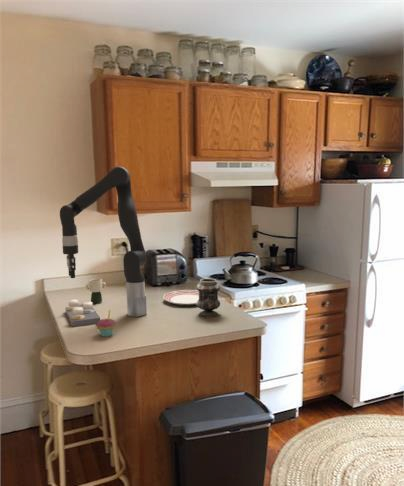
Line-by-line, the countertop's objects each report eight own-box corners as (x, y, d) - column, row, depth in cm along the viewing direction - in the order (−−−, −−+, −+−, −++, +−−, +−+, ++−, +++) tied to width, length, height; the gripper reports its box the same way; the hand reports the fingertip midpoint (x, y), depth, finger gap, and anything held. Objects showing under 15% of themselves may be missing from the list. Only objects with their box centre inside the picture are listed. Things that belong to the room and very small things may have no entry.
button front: (84, 314, 203) (83, 309, 202) (73, 315, 201) (73, 310, 200) (82, 311, 207) (82, 306, 207) (72, 312, 205) (71, 307, 205)
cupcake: (117, 331, 192) (116, 305, 190) (114, 337, 183) (113, 311, 182) (98, 331, 191) (97, 305, 190) (94, 338, 183) (93, 311, 181)
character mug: (105, 299, 246) (104, 277, 244) (107, 302, 239) (106, 280, 237) (86, 301, 242) (85, 279, 240) (87, 305, 235) (86, 282, 233)
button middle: (93, 308, 212) (93, 303, 212) (83, 309, 210) (83, 304, 210) (91, 306, 217) (91, 301, 216) (82, 307, 215) (81, 302, 214)
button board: (100, 322, 204) (100, 317, 203) (72, 326, 198) (72, 320, 198) (90, 309, 227) (90, 303, 227) (65, 312, 222) (65, 307, 222)
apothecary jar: (222, 311, 219) (222, 277, 217) (217, 318, 208) (216, 283, 206) (200, 310, 223) (199, 276, 220) (193, 317, 211) (193, 281, 209)
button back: (78, 305, 217) (78, 301, 217) (69, 307, 215) (68, 302, 215) (77, 303, 221) (77, 299, 221) (67, 304, 219) (67, 300, 219)
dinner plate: (219, 304, 234) (219, 298, 233) (171, 310, 224) (171, 304, 223) (201, 293, 259) (200, 288, 259) (157, 298, 249) (157, 292, 249)
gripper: (80, 245, 209) (81, 278, 211) (75, 242, 222) (77, 273, 224) (64, 246, 206) (66, 280, 208) (60, 243, 219) (62, 274, 221)
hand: (71, 276), depth 216 cm, fingers open, 6 cm apart
